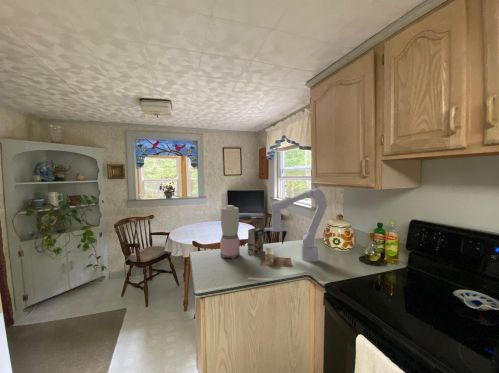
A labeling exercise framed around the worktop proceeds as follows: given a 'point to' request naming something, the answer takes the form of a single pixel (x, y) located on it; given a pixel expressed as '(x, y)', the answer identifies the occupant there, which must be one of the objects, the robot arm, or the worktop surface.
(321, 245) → the worktop surface
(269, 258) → the block
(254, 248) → the coffee box
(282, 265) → the base
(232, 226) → the blender
